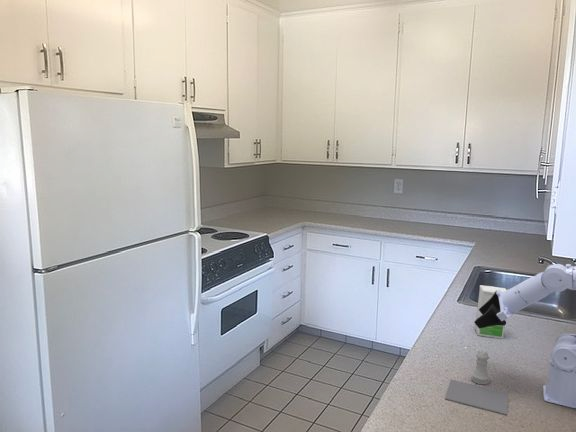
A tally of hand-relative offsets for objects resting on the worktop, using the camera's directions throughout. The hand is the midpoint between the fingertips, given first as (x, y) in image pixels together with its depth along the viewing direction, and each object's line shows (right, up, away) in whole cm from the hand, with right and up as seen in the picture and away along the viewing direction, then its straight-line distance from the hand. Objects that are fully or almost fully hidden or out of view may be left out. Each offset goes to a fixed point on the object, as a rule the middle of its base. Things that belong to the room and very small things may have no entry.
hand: (479, 318), depth 128 cm
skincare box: (+15, -11, +29) cm, 34 cm away
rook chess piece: (-1, -16, -2) cm, 17 cm away
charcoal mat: (-5, -17, -10) cm, 21 cm away
